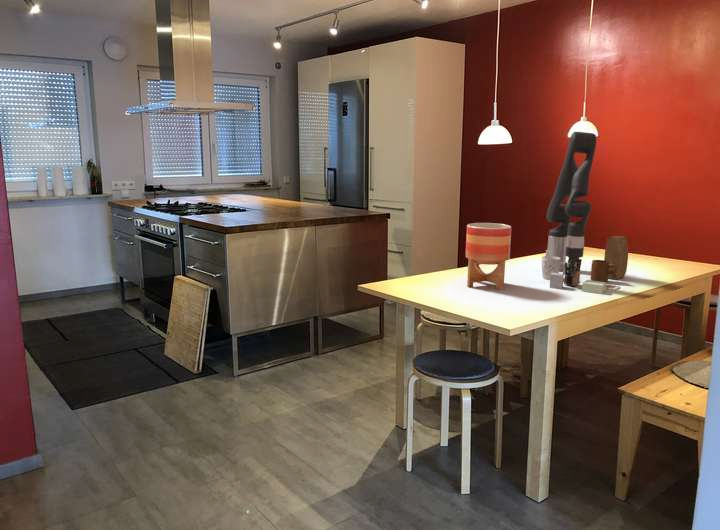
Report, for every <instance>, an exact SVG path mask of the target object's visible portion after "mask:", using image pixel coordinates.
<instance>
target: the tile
mask: <svg viewBox="0 0 720 530" xmlns="http://www.w3.org/2000/svg"><path fill="white" fill-rule="evenodd" d="M620 287H621V286H619V285H613V284H607V283H606V290H611V291H616V290H619V289H620Z"/></svg>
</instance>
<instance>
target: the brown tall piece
mask: <svg viewBox="0 0 720 530" xmlns="http://www.w3.org/2000/svg"><path fill="white" fill-rule="evenodd" d="M628 246H629V245H628V237H626V236H619V235H615V236H610V237H607V238H606V245H605V250H604V259H603V260H605V261H609V264H615V265H616V266H617V268H618V270H617V272H616V273H615V274H610V275H608V280H609V279H610V280H621V279H623V278H624V277H625V275H626V273H627V270H628V262H629V247H628ZM613 270H614V267H610V268H609V271H613Z"/></svg>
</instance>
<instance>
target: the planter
mask: <svg viewBox="0 0 720 530" xmlns="http://www.w3.org/2000/svg"><path fill="white" fill-rule="evenodd" d="M465 237H466V240H465V258H466V259H468V260H467V261H468V262H467V263H468V265H467V282H466V283H467V284H466V285H467V286H466V287H467V288H473V287H474V283H479V282H480V283H481V282H488V283H490V284H495V286H496V287H495V289H496V290H499V291H502V290H503V284H504V283H505V274H506V262H507V261H509V260H510V259H511V257H510V256H511V243H512V242H511V238H512V226H511V225H508V224H504V223H495V222H494V223H493V222H474V223H468V224H467V225H466V236H465ZM480 265H492V266H494V265H496V266H495V268H494V270H492V271H491V272H489V273H485V272H484V271H483V270H482V269H481V267H480Z"/></svg>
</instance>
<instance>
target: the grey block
mask: <svg viewBox="0 0 720 530" xmlns="http://www.w3.org/2000/svg"><path fill="white" fill-rule="evenodd" d="M564 278H565V275H564V274H563V272H559V273H551V275H550V280H549V288H550V289H559V290H562V289H563V286H564Z"/></svg>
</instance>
